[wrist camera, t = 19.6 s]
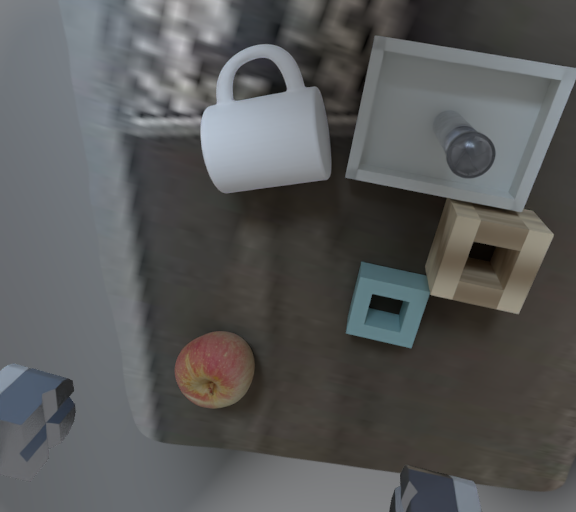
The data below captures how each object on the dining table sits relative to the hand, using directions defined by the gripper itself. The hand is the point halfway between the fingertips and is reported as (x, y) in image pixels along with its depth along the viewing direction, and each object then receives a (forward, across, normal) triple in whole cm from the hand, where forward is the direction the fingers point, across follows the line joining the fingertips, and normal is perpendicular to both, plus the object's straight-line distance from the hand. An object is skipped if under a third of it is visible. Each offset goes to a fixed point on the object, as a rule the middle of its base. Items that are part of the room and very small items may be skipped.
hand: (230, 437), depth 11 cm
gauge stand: (+37, -8, +16) cm, 41 cm away
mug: (+37, +7, -1) cm, 38 cm away
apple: (+37, +9, +28) cm, 48 cm away
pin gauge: (+36, -9, -3) cm, 37 cm away
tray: (+37, -9, -3) cm, 38 cm away
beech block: (+37, -15, +7) cm, 41 cm away
